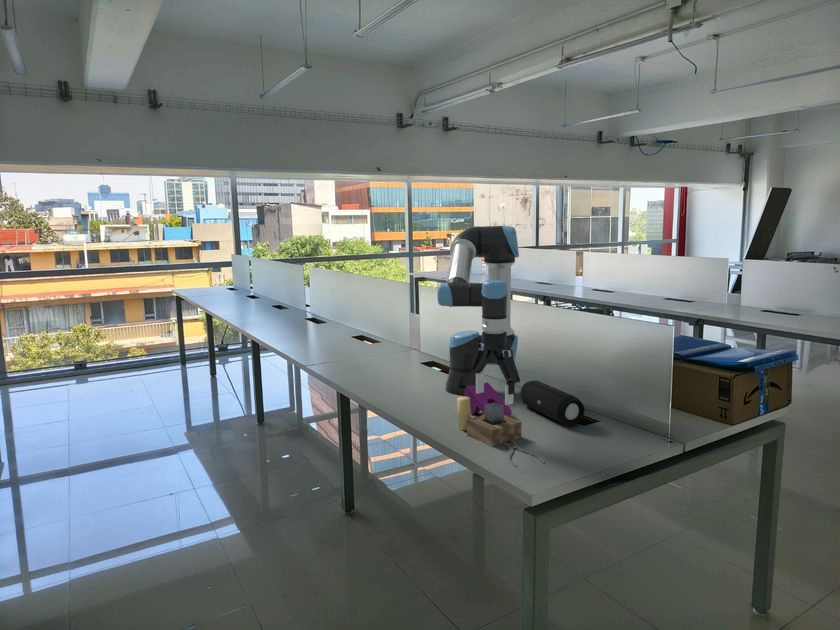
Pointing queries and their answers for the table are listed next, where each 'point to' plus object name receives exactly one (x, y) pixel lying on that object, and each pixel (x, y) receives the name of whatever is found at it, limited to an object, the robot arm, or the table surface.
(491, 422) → the square peg
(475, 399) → the mounting bracket
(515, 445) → the pliers
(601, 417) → the table surface
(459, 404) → the round peg
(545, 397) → the portable speaker
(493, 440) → the socket block
